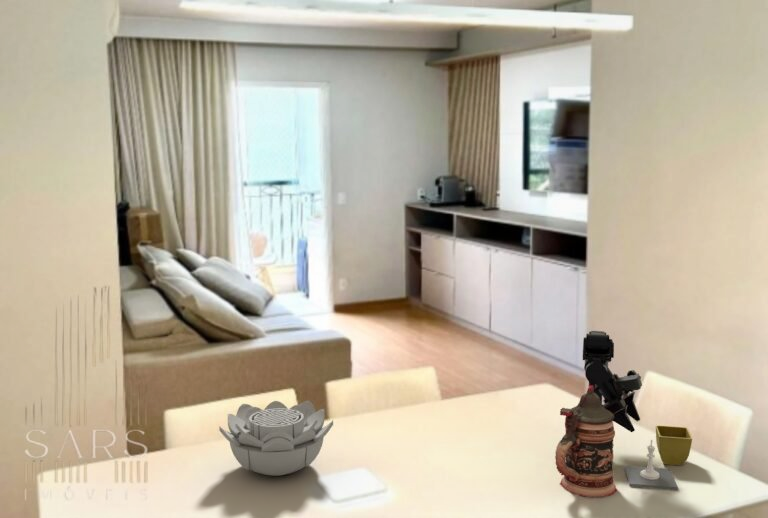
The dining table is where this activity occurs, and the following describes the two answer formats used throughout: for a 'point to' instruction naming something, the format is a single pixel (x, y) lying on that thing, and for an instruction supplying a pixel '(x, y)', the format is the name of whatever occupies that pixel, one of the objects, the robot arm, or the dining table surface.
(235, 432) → the decorative bowl
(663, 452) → the flower pot
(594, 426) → the beer stein
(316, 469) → the dining table surface
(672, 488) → the slate tile
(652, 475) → the chess piece
